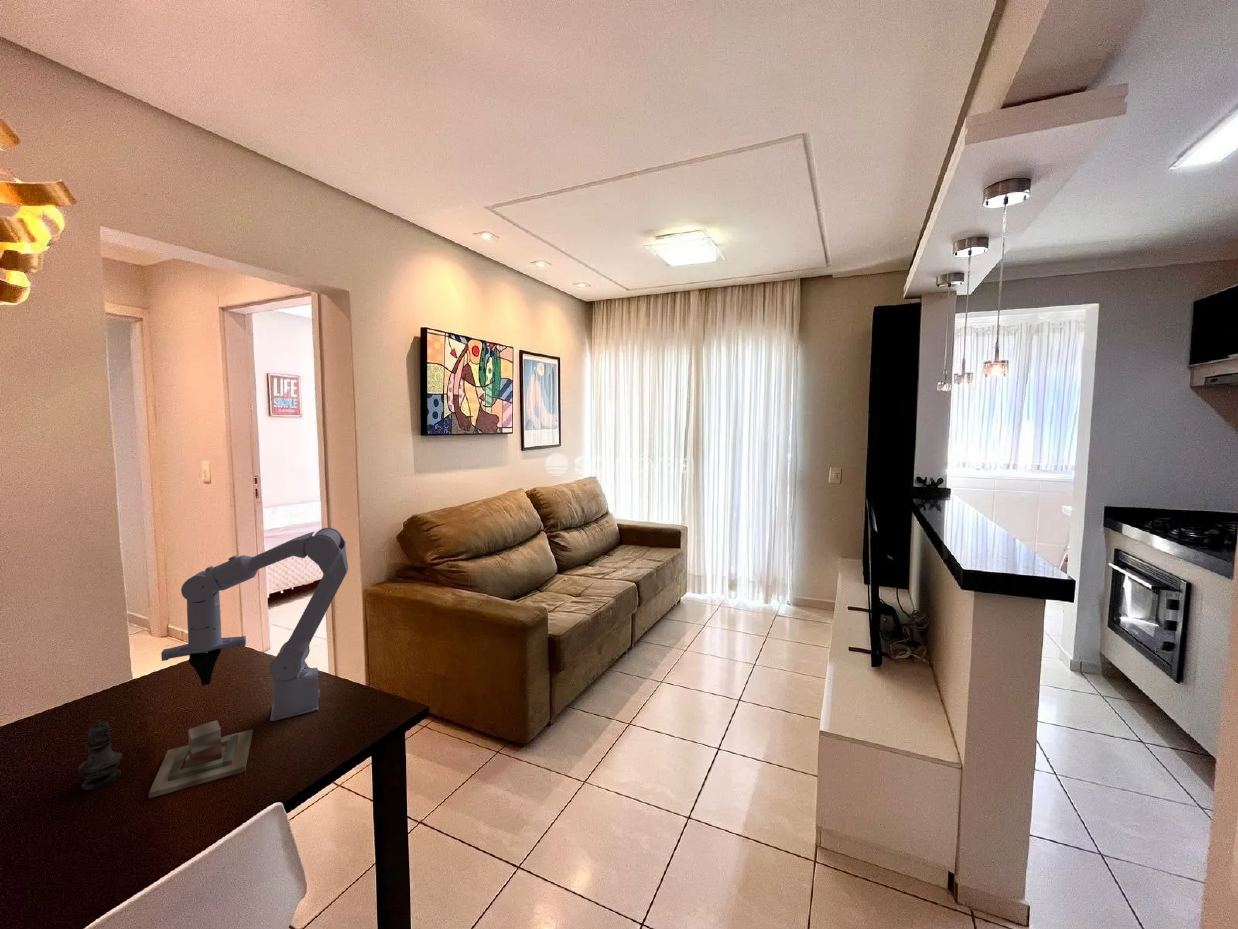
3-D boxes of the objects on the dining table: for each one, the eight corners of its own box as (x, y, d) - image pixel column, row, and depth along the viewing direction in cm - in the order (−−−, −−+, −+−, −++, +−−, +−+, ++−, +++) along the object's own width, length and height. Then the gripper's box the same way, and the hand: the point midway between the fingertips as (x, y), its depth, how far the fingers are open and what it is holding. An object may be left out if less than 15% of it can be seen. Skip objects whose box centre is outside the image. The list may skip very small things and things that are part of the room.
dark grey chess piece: (94, 793, 90) (90, 730, 89) (69, 788, 91) (66, 726, 90) (131, 771, 96) (128, 712, 95) (108, 767, 97) (105, 708, 96)
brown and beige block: (218, 747, 102) (216, 720, 101) (221, 758, 99) (220, 729, 98) (189, 758, 98) (188, 729, 98) (192, 768, 95) (191, 739, 95)
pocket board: (252, 733, 108) (252, 725, 108) (245, 771, 96) (244, 762, 96) (168, 754, 101) (167, 746, 101) (148, 798, 89) (148, 789, 89)
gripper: (246, 613, 118) (248, 668, 118) (166, 625, 110) (168, 683, 111) (243, 623, 112) (245, 680, 113) (157, 636, 104) (160, 698, 105)
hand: (206, 683), depth 111 cm, fingers closed
